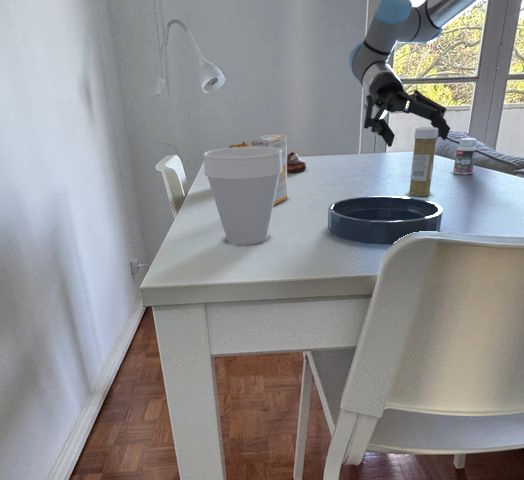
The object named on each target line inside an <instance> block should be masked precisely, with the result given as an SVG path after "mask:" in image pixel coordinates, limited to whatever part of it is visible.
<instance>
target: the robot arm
mask: <svg viewBox="0 0 524 480" xmlns="http://www.w3.org/2000/svg"><path fill="white" fill-rule="evenodd" d="M480 1H481V0H425V1H424V2H423V3H421V4H420V5H419V6H413V3H412V1H411V0H380V1H379V3H378V6H377V7H376V9H375V11H374V15H373V17H372V20H371V22H370V25H369V27H368V30H367V32H366V35H365V37H364V40H363V41H361V42H359V43H358V44H357V45H356V46H355V47H353V49H352V50H351V52H350V53H349V58H348V64H349V67H350V69H351V71H352V74H353V76H354V78H355V79H356V80H357V81H358V82H359V83H360V85H361V86H362V88H363V90H364V91H365V93H366V94H367V95H366V98H365V102H364V109H365V116H364V122H363V129H365V130H367V129H369V128H371V129H370V132H371V133H376V134H377V136H379V137H380V136H381V138H382V139H383V141H384V142H385V144H386V145H387V147H388V148H391V147H392V146H393V143H394V140H395V137H396V134H395V133H394V132H393V130H392V129H391V127H390V126H389V124H388V123H387V121H386V120H385V118H384V117H386V115H387V114H388V113H391V114H392V113H398V112H399V113H400V112H401V113H404V114H408V115H409V114H413V115H415V116H417V117H420V118H422V119H425V120H428V121H429V122H430V125H431V127H435V128H438V136H439V137H440V138H441V140H447V138H448V136H449V133H450V130H451V127H450V126H449V125H448V123H447V120H446V119H445V114H446V112H447V108H446V107H445V106H443V105H441V104H439V103H438V102H436V101H434V100H432V99H431V98H429V97H428V96H425V95H423V94H422V92H420V90H418V89H416V90H413V93H411V94H409V93H408V92H406V91H405V89H404V84H403V82H402V81H401V80H400V78H399V77H398V76H397V75H396V73H395V72H394V71H393V69H392V68H391V66H390V65H389V64H388V61H389V58H390V56H391V55H392V53H393V50H394V48H395V46H396V44H418V45H425V44H430V43H431V44H432V43H433V42H435V41H436V40H438V38H440V35H441V34H442V32H443V31H444V28H445V27H446V26H448V25H449V24H450V23H452V21H454V20H455V19H457V18H458V17H460V16H461V15H462V14H464V13H465V12H466V11H468V10H470V9H471V8H472V7H474V5H476V4H478V3H479V2H480ZM407 105H408V107H407ZM374 107H375V108H377V109H378V111H377V112H376V114H375V116H374V117H372V116H373V115H372V114H373V108H374Z"/></svg>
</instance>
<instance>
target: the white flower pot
mask: <svg viewBox="0 0 524 480" xmlns="http://www.w3.org/2000/svg"><path fill="white" fill-rule="evenodd" d="M281 153H282V150H281V149H278V148H273V147H233V148H229V147H223V148H218V149H217V148H216V149H210V150H208V151H205V152H203V154H202V155H203V165H204V166H203V167H204V169H203V170H204V175H205V177H207V180H208V183H209V186H210V189H211V193H212V195H213V198H214V199H213V200H214V202H215V206H216V209H217V212H218V216H219V218H220V221H221V225H222V228H223V231H224V232H223V233H224V234H225V238H226V241H227V242H228V243H230V244H233V245H241V246H245V245H246V246H248V245H256V244H260V243H263V242H266V241H267V240H268V236H269V231H270V226H271V221H272V217H273V210H274V207H275V205H274V201H275V196H276V191H277V186H278V181H279V176H280V173H281V172H282V170H283V169H282V157H281Z"/></svg>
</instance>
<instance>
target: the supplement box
mask: <svg viewBox="0 0 524 480" xmlns="http://www.w3.org/2000/svg"><path fill="white" fill-rule="evenodd" d="M287 140H288V139H287V134H267V135H263V136H258V137H255V138H252V139H250V140H249V144H250V146H251V147H273V148H278V149H281V150H282V153H281V157H282V169H283V170H282V172H281V173H280V176H279V181H278V186H277V191H276V196H275V201H274V206H275V205H278V204H280V203H281V202H283V201H284V200H287V199H288V172H287V154H288V152H287V145H288V144H287V143H288V142H287Z"/></svg>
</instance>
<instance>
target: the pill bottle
mask: <svg viewBox="0 0 524 480" xmlns="http://www.w3.org/2000/svg"><path fill="white" fill-rule="evenodd" d="M477 141H478V139H477V138H476V137H475V138H474V137H463V138H460V139H459V146H458V147H457V148H456V153H455V159H454V166H453V171H452V173H453V174H455V175H463V176H464V175H465V176H466V175H471V174H473V171H474V165H475V160H476V154H477V146H476V145H477V143H478V142H477Z"/></svg>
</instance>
